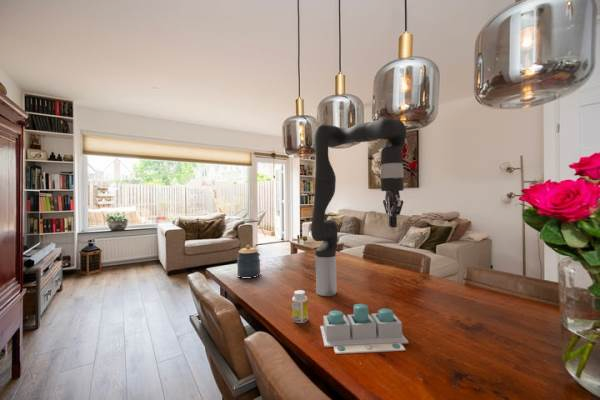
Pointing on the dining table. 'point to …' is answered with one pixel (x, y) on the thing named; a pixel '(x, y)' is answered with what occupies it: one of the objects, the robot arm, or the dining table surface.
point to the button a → (335, 317)
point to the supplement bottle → (300, 307)
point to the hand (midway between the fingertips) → (393, 227)
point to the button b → (361, 313)
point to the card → (368, 348)
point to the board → (362, 332)
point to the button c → (385, 315)
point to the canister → (248, 262)
